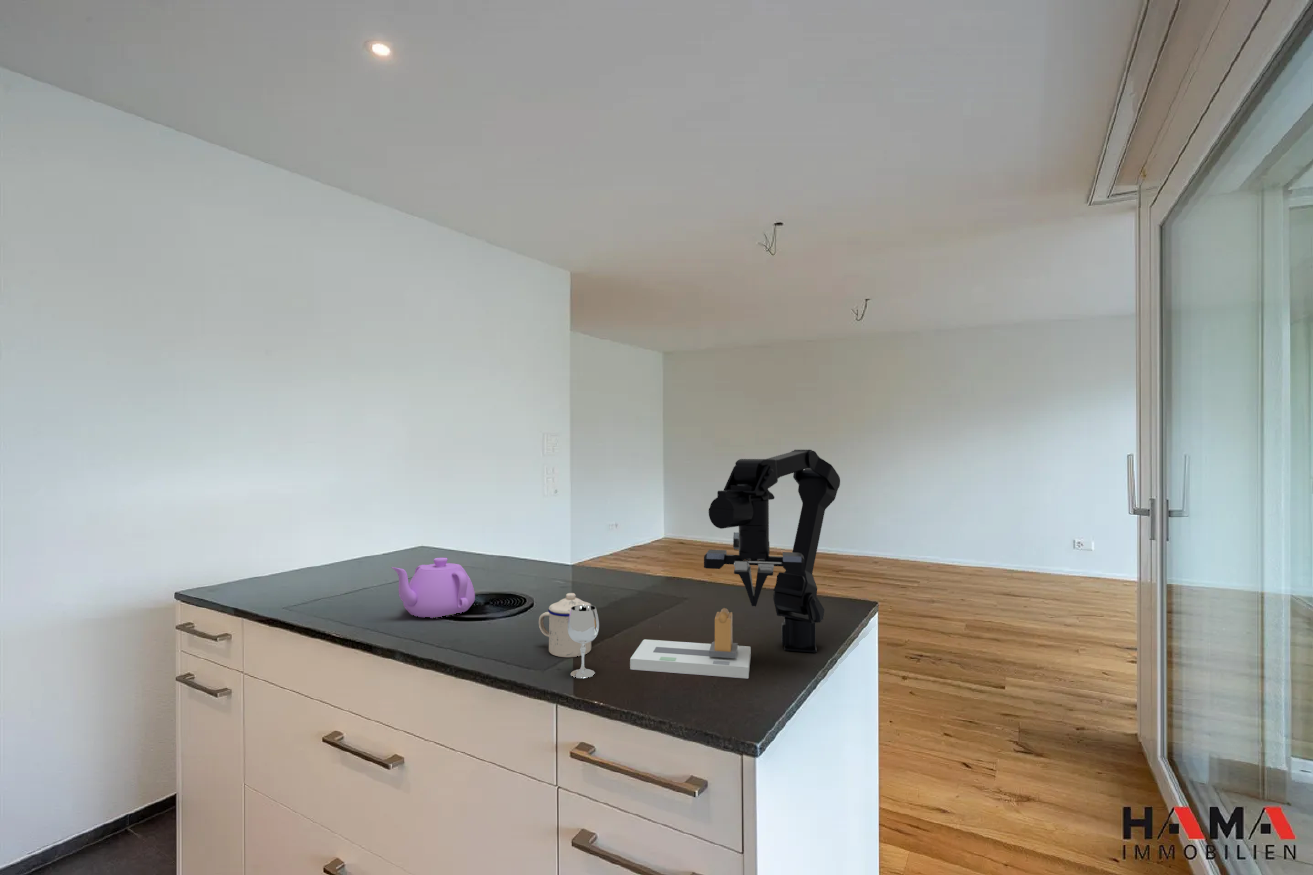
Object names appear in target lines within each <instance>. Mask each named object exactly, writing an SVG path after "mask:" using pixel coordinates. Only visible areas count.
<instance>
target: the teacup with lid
mask: <svg viewBox="0 0 1313 875" xmlns="http://www.w3.org/2000/svg"><path fill="white" fill-rule="evenodd" d="M577 605H592V603H590V602H587V601H583V600H582V599H580V598H578V597H577V596H576V594H575V593H574V592H568V593H566V594H565V598H561V599H560V600H559V601H557V602H554V603H552V604H550V605H549V606H548V609H547V611H546V612H543V613H541V614H540V616H539V617H538V627H539V629H540V632H541V633H542V634H543V635H544V636H545V637H548V652H549V653H550V654H551V655H552V656H554V657H555V656H556V657H559V658H577V656H578V657H582V656H581V651H580V647H581V645H582V644H581V643H577V642H575V641H573V640H572V639H571V638H570V637H569V634H568V618H569V614H570V610H571V607H573V606H577ZM545 617H549V618H548V619H549V620H548V621H549V622H548V625H549V626H548V630H547V629H546V627H545V624H544V622H545V621H544V619H545ZM585 646H586V651H585V655H586V654H588V653H590V652H591V650H592V641H590V642H588V643H585Z"/></svg>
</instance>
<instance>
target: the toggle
mask: <svg viewBox="0 0 1313 875" xmlns="http://www.w3.org/2000/svg"><path fill="white" fill-rule="evenodd" d="M710 644H711V647H710V650H709V657H723V658H736V655H737V649H738V646H739V645H738V644H739V643H738V642H733V612H729V609H727V607H726V608H725V607H723V608H721V610H720V611H716V614H715V617H714V640H713V641H712V642H711V643H710Z"/></svg>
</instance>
